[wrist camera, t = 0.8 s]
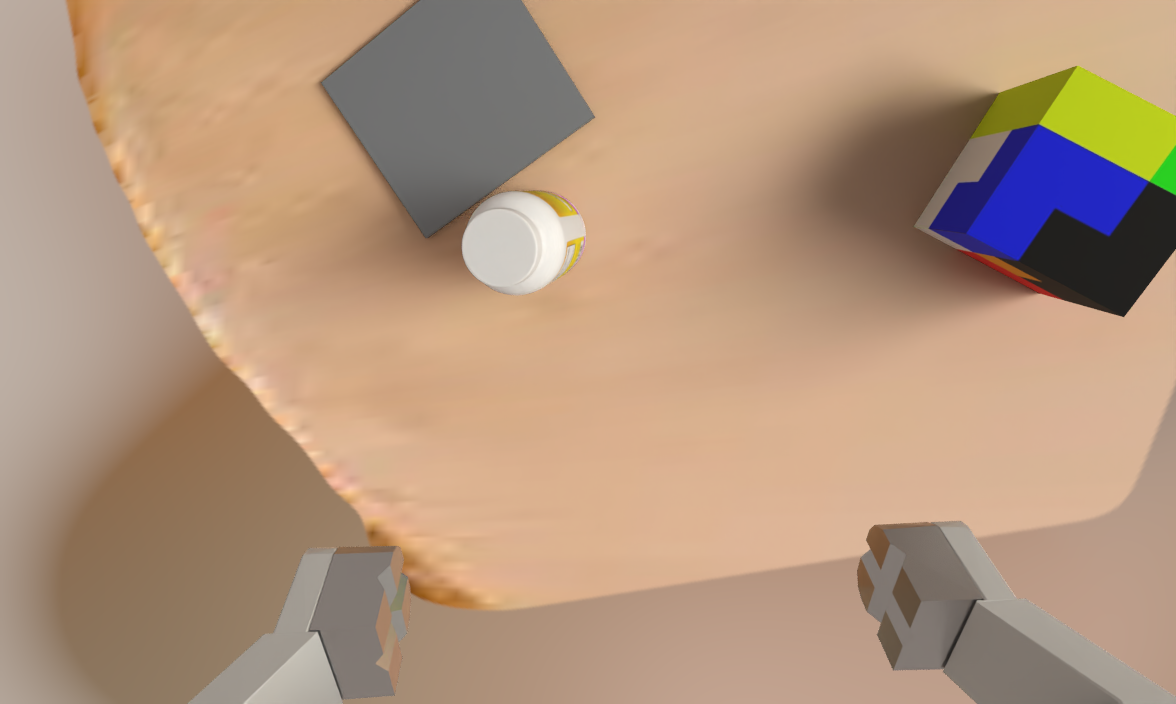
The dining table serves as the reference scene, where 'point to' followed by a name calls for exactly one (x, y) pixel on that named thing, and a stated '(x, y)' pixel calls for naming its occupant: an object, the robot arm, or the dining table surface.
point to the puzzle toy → (1065, 191)
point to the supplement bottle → (523, 240)
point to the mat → (456, 102)
